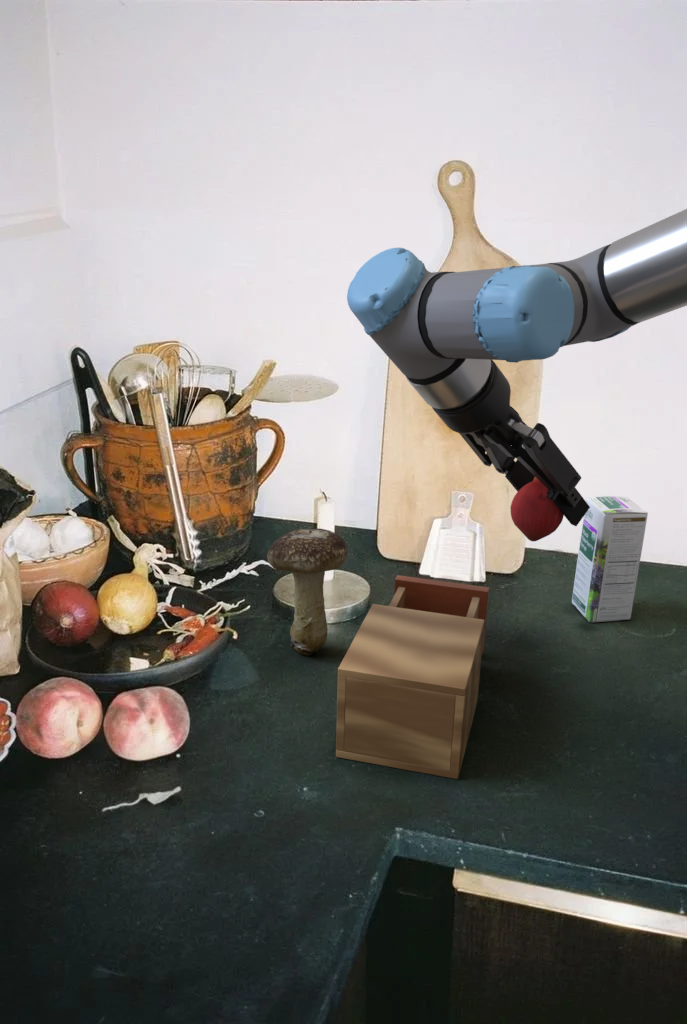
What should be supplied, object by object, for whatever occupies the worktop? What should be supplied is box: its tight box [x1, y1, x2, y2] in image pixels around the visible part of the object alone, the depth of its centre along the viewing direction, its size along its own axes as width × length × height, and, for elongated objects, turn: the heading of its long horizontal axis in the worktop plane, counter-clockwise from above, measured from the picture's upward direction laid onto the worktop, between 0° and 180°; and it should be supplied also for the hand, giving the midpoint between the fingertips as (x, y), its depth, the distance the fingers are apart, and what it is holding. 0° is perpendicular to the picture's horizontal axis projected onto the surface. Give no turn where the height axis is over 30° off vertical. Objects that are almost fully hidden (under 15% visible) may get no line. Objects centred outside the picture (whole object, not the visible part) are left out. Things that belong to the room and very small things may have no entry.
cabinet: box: [335, 603, 485, 780], centre depth 91 cm, size 14×12×10 cm
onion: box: [510, 477, 565, 542], centre depth 104 cm, size 6×6×8 cm
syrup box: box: [571, 495, 649, 623], centre depth 115 cm, size 6×6×14 cm
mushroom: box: [266, 528, 349, 656], centre depth 103 cm, size 9×9×15 cm
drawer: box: [388, 574, 490, 655], centre depth 102 cm, size 17×10×8 cm, turn 165°
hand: (559, 507), depth 107 cm, fingers closed on onion, 6 cm apart
